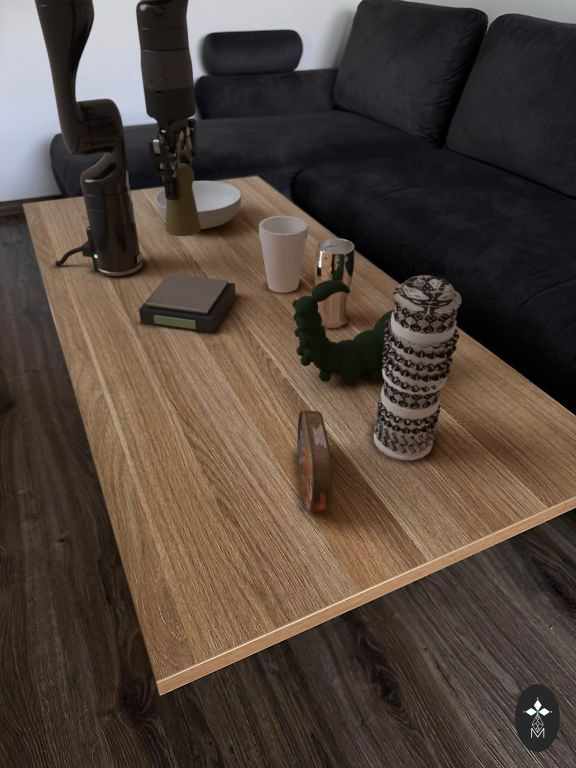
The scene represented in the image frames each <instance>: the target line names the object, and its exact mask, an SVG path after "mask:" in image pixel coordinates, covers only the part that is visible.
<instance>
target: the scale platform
mask: <svg viewBox="0 0 576 768" xmlns="http://www.w3.org/2000/svg"><path fill="white" fill-rule="evenodd" d="M168 275H169V276H168ZM168 275H167V276H168V277H167V276H166V277H165V279H166V280H165V279H164V280H165V281H164V280H163V281H164V282H163V281H162V282H163V283H162V282H161V283H162V284H161V283H160V284H159V286H158V287H159V288H158V287H157V288H158V289H157V288H156V289H157V290H156V289H155V290H156V291H155V290H154V291H155V292H154V291H153V293H152V294H153V295H152V294H151V295H152V296H151V295H150V296H151V297H150V296H149V297H150V298H149V297H148V298H149V299H148V298H147V299H146V300H145V302H146V306H147V307H155V308H162V309H170V310H177V311H184V312H192V313H199V314H206V315H208V314H209V312H210V311H211V309H212V308H213V306H214V305H215V303H216V302H217V300H218V299H219V297H220V296H221V294H222V293H223V291H224V290H225V288H226V287H227V286H228V284H229V283H230V282H229V280H227V279H220V278H212V277H203V276H196V275H187V274H179V273H172V272H171V273H170V274H168Z"/></svg>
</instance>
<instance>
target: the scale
mask: <svg viewBox="0 0 576 768" xmlns="http://www.w3.org/2000/svg"><path fill="white" fill-rule="evenodd" d="M169 275H170V274H168V275H167V276H166V278H167V277H168V276H169ZM166 278H164V280H163V281H162V282H161V283H160V285H161V284H162V283H163V282H164V281H165V280H166ZM228 283H229V284H228V286H227V287H226V288H225V290H224V291H223V293H222V294H221V296H220V297H219V299H218V300H217V302H216V303H215V305H214V306H213V308H212V309H211V311H210V312H209V314H208V315H206V314H199V313H192V312H184V311H177V310H170V309H162V308H155V307H147V306H146V301H145V302H144V303H143V304H142V305H141V306H140V307H139V309H138V312H139V313H138V314H139V318H140V319H139V320H140V324H143V325H144V324H145V325H150V326H158V327H165V328H170V329H178V330H184V331H185V330H186V331H192V332H199V333H207V334H213V333H214V332H215V330H216V329H217V327H218V326H219V324H220V322H221V321H222V319H223V317H224V316H225V315H226V313H227V311H228V310H229V309H230V306H231V305H232V304H233V302H234V300H235V299H236V298H237V296H236V295H237V293H236V283H235V282H228ZM158 288H159V286H158V287H157V288H156V289H155V290H154V291H153V293H154V292H155V291H156V290H157V289H158ZM153 293H152V294H151V295H150V296H149V297H148V298H147V300H148V299H149V298H150V297H151V296H152V295H153Z"/></svg>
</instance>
